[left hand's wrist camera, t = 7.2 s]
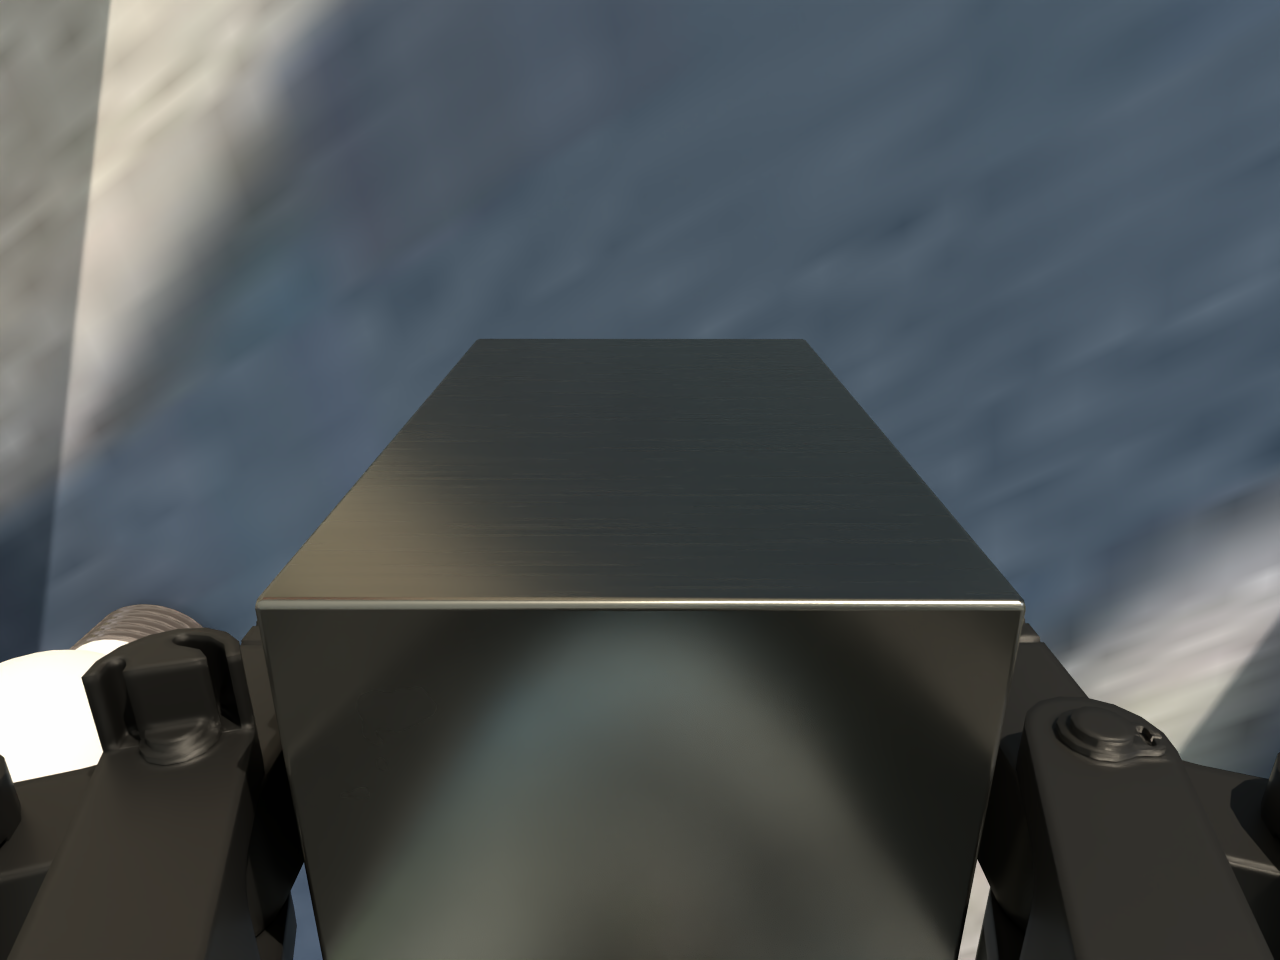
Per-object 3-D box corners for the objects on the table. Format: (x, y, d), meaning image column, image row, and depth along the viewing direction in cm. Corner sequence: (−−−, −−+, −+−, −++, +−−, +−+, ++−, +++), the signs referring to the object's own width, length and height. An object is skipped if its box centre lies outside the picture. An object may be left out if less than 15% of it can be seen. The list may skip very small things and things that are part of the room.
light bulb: (250, 577, 29) (33, 817, 18) (257, 737, 31) (71, 1027, 21) (46, 554, 28) (-289, 786, 18) (70, 718, 31) (-212, 1003, 21)
